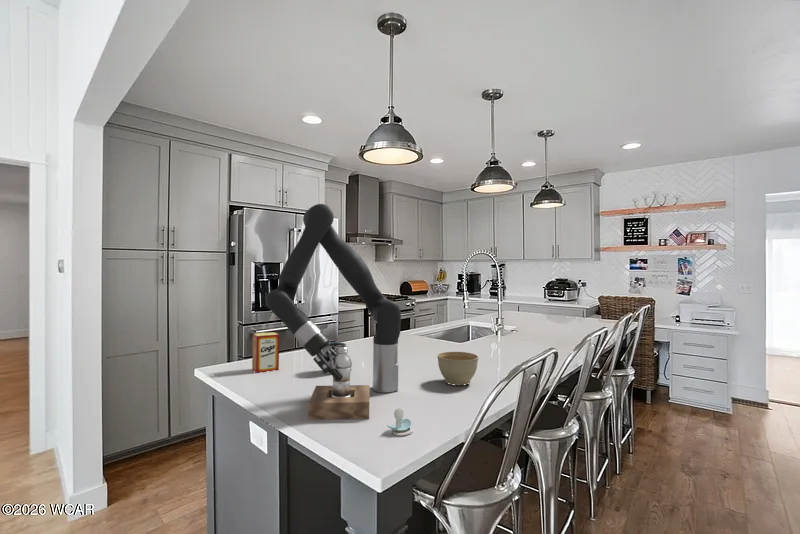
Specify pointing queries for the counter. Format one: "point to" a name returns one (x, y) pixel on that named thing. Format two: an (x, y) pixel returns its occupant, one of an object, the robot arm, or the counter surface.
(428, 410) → the counter surface
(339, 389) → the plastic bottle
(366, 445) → the counter surface
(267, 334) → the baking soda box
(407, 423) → the pacifier
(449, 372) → the planter bowl
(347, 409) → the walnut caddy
